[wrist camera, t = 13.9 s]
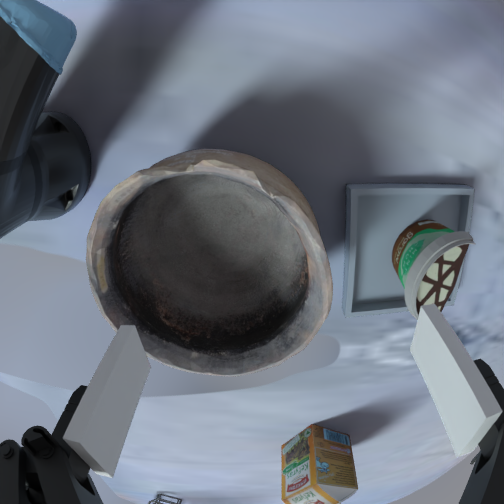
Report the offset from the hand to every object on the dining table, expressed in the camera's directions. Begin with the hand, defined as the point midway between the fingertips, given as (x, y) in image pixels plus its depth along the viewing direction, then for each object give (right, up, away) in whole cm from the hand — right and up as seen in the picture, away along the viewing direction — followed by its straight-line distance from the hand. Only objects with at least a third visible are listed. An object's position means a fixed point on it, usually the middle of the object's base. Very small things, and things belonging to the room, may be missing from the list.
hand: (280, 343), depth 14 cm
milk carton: (+12, -37, +45) cm, 60 cm away
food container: (+19, +5, +25) cm, 32 cm away
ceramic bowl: (-5, +7, +26) cm, 27 cm away
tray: (+19, +5, +26) cm, 33 cm away
